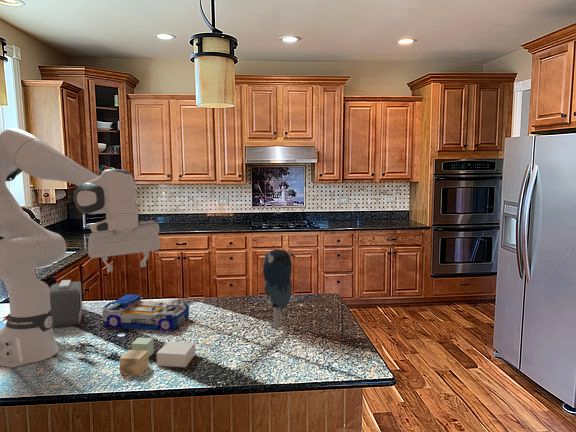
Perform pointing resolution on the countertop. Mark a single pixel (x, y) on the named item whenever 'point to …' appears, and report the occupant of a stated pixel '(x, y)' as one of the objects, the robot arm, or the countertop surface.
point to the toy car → (145, 314)
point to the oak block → (133, 362)
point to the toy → (278, 281)
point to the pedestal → (176, 354)
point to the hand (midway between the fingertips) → (127, 269)
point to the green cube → (143, 345)
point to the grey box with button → (66, 303)
